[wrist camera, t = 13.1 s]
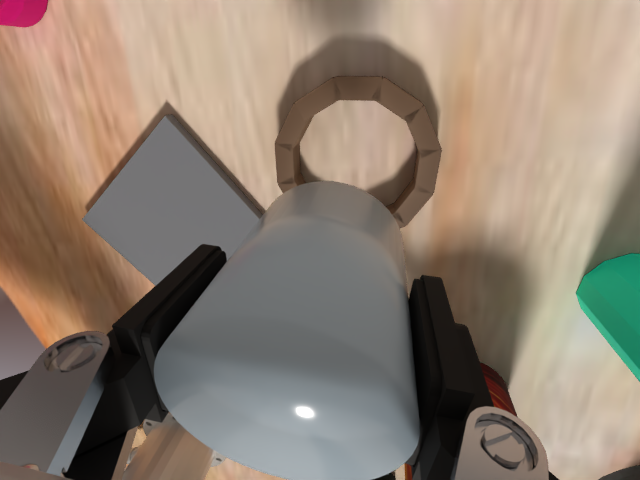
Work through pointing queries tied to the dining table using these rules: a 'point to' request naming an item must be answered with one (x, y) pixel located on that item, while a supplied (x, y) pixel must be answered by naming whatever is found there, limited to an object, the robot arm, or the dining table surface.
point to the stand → (389, 98)
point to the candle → (615, 305)
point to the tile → (171, 204)
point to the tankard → (624, 474)
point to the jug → (302, 344)
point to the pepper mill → (21, 12)
